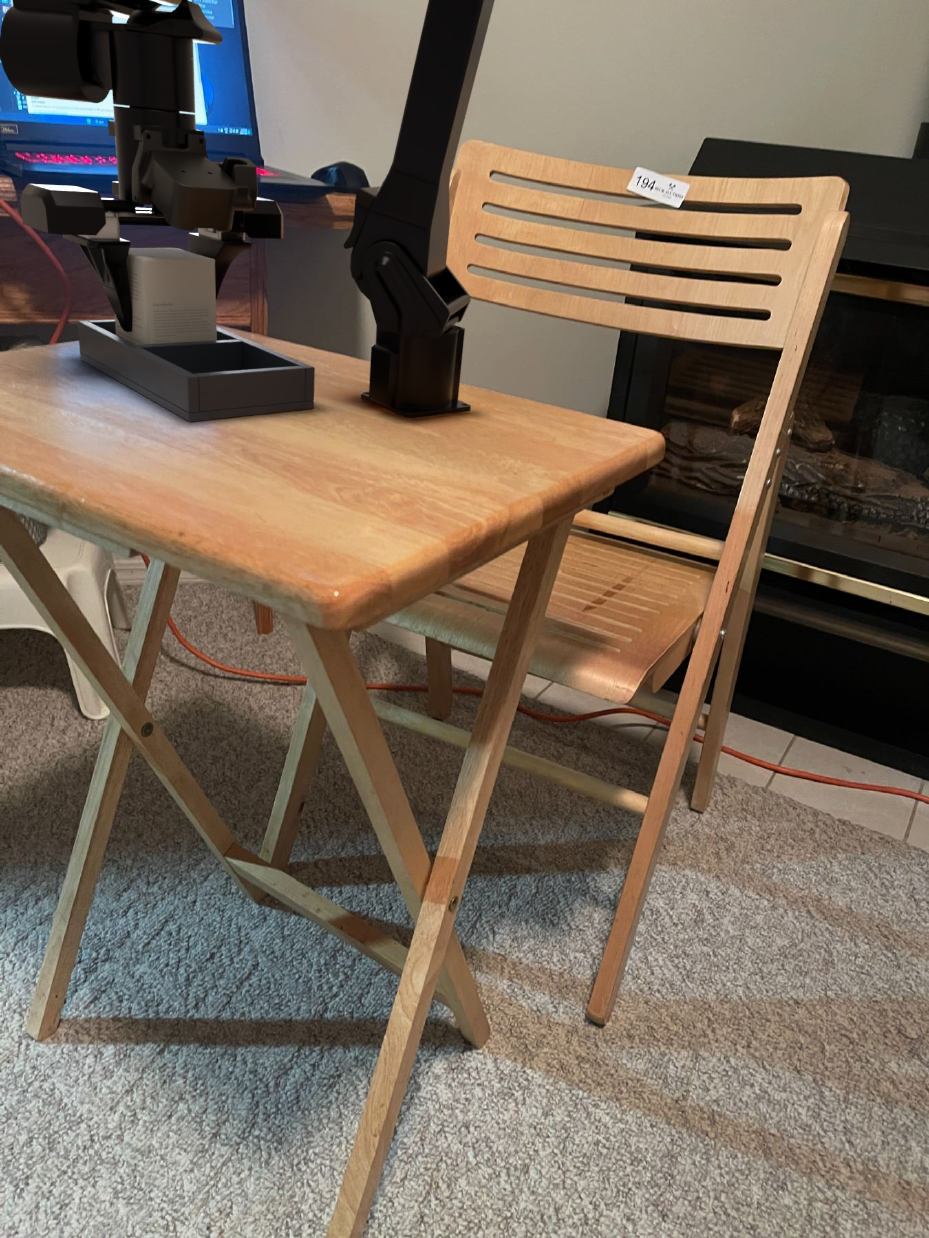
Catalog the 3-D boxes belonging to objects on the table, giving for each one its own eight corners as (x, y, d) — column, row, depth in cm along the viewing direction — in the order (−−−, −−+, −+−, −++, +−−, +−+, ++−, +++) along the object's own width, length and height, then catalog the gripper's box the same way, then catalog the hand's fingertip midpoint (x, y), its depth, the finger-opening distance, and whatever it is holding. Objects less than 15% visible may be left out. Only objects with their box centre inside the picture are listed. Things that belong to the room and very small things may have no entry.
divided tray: (194, 352, 83) (193, 316, 82) (314, 408, 71) (315, 367, 69) (80, 359, 77) (76, 320, 76) (189, 422, 64) (187, 377, 63)
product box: (219, 354, 76) (217, 258, 73) (147, 359, 72) (142, 258, 69) (184, 339, 80) (180, 247, 77) (114, 342, 76) (107, 246, 73)
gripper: (66, 101, 57) (88, 358, 64) (323, 128, 69) (318, 344, 76) (5, 94, 65) (31, 327, 72) (247, 120, 76) (249, 318, 83)
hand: (165, 329), depth 75 cm, fingers closed on product box, 6 cm apart
